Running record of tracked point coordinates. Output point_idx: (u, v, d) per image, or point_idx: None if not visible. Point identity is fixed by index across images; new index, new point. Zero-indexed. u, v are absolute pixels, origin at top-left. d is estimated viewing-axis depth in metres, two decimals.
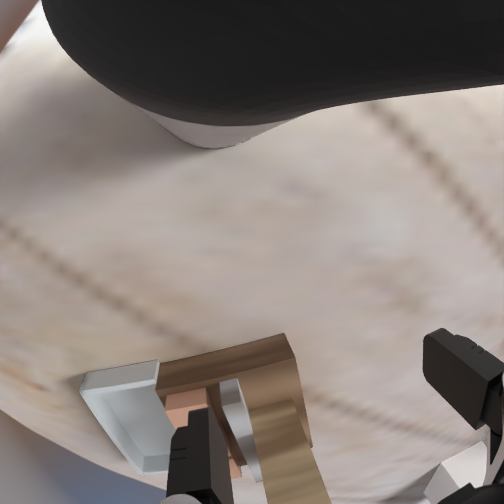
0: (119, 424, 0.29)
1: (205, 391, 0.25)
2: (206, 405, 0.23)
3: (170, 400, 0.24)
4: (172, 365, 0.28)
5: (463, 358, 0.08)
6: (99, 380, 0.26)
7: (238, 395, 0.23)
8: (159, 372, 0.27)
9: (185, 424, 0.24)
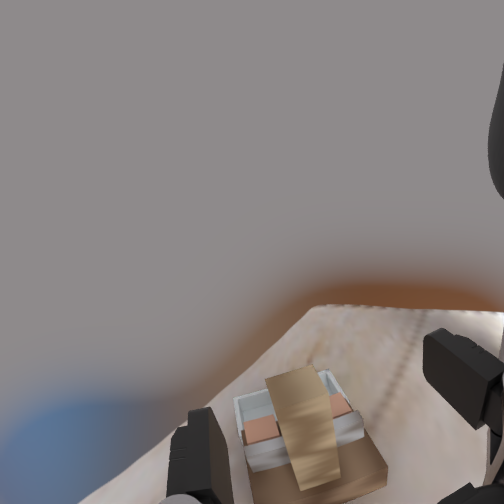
0: None
1: None
2: (349, 410, 0.30)
3: None
4: None
5: (463, 358, 0.08)
6: None
7: (363, 423, 0.28)
8: None
9: None
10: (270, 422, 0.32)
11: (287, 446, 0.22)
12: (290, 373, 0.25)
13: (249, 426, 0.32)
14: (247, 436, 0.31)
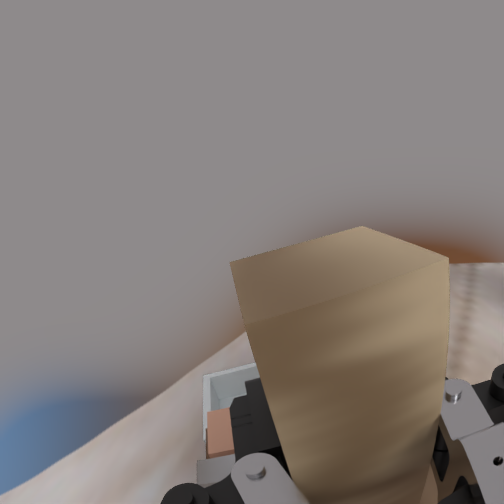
0: None
1: None
2: None
3: None
4: None
5: None
6: None
7: None
8: None
9: None
10: None
11: (296, 477, 0.06)
12: (304, 244, 0.09)
13: (216, 419, 0.16)
14: (210, 439, 0.15)
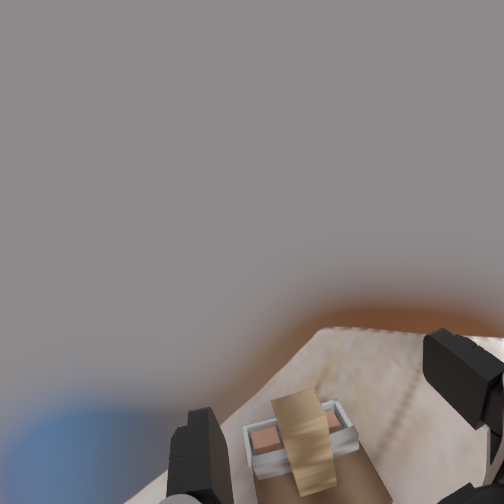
0: None
1: None
2: None
3: None
4: None
5: (463, 358, 0.08)
6: None
7: (358, 437, 0.30)
8: None
9: None
10: None
11: (290, 458, 0.25)
12: (293, 395, 0.27)
13: None
14: None
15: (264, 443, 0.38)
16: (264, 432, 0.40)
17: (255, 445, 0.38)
